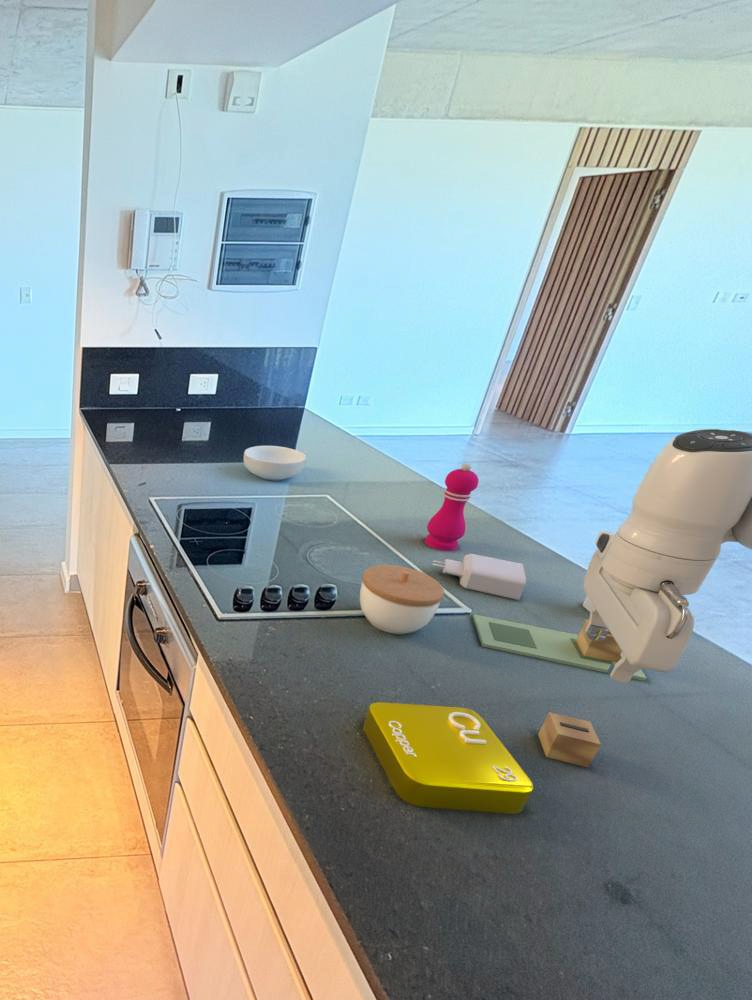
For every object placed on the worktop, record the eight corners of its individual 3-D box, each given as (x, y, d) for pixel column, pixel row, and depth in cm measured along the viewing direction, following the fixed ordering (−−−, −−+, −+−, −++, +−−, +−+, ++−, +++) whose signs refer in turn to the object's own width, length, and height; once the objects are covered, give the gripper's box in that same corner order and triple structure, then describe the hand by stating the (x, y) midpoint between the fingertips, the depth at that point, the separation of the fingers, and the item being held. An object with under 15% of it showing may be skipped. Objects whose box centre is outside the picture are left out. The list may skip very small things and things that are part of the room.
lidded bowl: (445, 643, 108) (465, 589, 103) (376, 646, 107) (392, 592, 102) (402, 604, 119) (417, 554, 114) (339, 606, 118) (352, 556, 113)
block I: (576, 746, 86) (590, 720, 84) (587, 769, 82) (601, 743, 80) (536, 736, 88) (549, 710, 86) (545, 758, 84) (558, 732, 82)
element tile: (357, 722, 90) (365, 697, 88) (465, 729, 89) (476, 704, 87) (401, 807, 77) (412, 780, 75) (529, 817, 76) (544, 790, 73)
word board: (622, 648, 106) (624, 643, 106) (644, 683, 98) (647, 677, 97) (472, 618, 114) (474, 613, 114) (481, 648, 106) (483, 642, 106)
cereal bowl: (297, 469, 186) (301, 446, 183) (306, 489, 172) (311, 465, 169) (239, 465, 190) (242, 442, 187) (242, 484, 175) (246, 460, 172)
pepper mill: (427, 536, 145) (453, 455, 136) (462, 546, 141) (491, 463, 132) (417, 546, 141) (443, 463, 132) (453, 556, 136) (483, 471, 127)
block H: (609, 647, 104) (621, 624, 102) (618, 663, 101) (631, 639, 99) (575, 641, 106) (586, 618, 104) (583, 656, 102) (595, 632, 100)
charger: (430, 563, 133) (514, 582, 126) (428, 582, 126) (518, 602, 119) (436, 544, 131) (522, 561, 124) (435, 562, 124) (526, 581, 117)
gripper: (731, 614, 64) (668, 715, 70) (655, 536, 81) (609, 623, 87) (653, 600, 67) (599, 698, 73) (595, 526, 83) (555, 612, 89)
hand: (604, 657), depth 80 cm, fingers open, 8 cm apart
